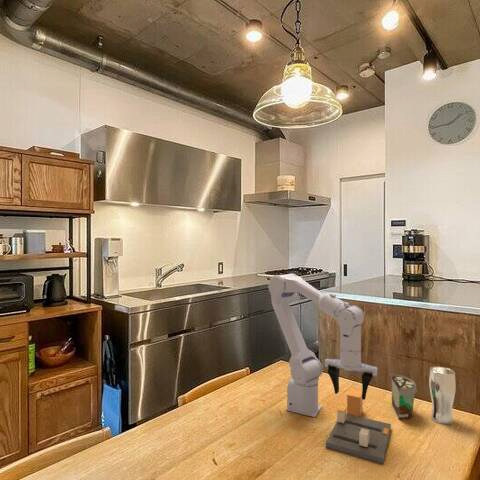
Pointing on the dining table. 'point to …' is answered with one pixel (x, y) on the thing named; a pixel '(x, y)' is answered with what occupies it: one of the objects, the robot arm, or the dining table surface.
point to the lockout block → (354, 403)
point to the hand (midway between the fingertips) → (350, 395)
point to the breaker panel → (348, 438)
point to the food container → (403, 396)
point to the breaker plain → (364, 437)
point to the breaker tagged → (341, 414)
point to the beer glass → (442, 394)
